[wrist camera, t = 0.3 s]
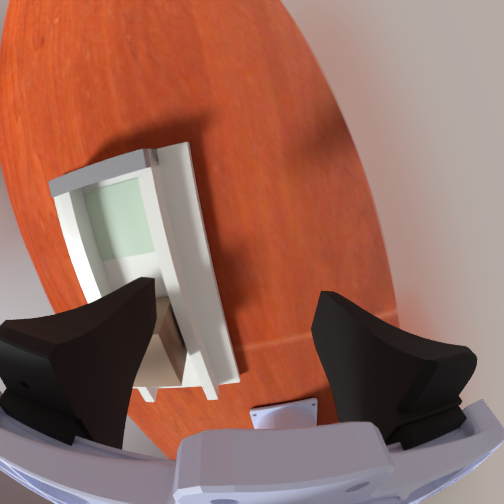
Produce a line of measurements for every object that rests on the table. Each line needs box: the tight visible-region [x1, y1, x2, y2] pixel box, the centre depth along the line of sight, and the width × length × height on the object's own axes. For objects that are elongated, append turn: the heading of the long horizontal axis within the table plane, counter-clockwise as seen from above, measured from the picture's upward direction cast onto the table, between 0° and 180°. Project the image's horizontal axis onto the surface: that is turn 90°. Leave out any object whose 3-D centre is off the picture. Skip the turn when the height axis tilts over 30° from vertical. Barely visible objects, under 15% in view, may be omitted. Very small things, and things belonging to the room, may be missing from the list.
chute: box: [48, 142, 240, 402], centre depth 20 cm, size 22×12×4 cm, turn 8°
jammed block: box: [133, 296, 188, 387], centre depth 19 cm, size 5×5×5 cm
